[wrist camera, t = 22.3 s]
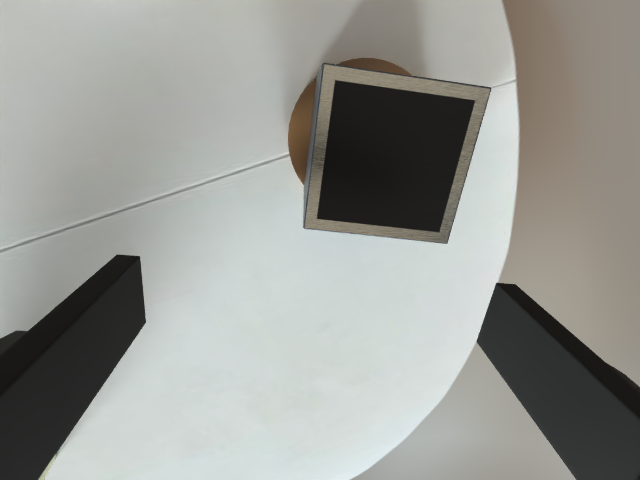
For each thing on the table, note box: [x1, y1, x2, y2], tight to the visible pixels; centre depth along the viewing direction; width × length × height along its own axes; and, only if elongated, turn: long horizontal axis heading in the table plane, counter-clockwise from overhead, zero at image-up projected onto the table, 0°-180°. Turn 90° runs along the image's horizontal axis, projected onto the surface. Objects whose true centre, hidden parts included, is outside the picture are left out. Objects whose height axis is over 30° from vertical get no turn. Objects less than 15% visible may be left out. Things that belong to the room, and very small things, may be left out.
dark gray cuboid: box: [303, 63, 491, 244], centre depth 27 cm, size 12×10×10 cm
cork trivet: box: [288, 58, 412, 185], centre depth 33 cm, size 14×14×1 cm
